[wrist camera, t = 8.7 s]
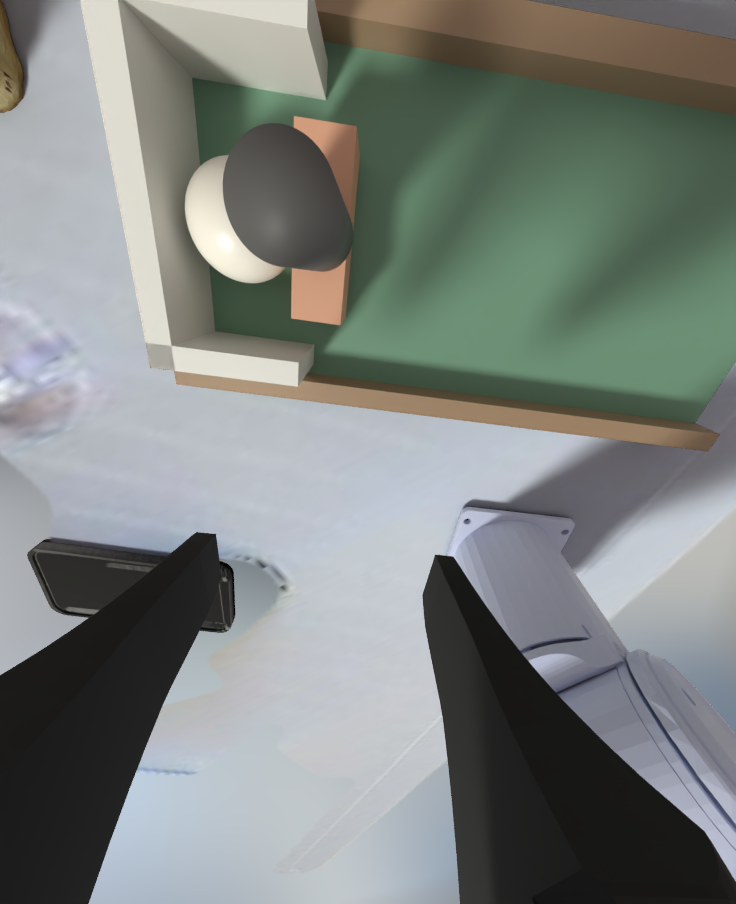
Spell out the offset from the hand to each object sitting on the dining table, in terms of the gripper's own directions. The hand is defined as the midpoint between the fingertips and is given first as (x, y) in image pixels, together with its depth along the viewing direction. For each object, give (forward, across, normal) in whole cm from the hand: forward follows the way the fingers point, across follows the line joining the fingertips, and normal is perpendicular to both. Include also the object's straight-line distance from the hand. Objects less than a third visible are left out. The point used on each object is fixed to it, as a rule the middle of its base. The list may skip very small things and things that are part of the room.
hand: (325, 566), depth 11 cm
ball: (+8, +5, -10) cm, 13 cm away
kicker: (+10, +2, -10) cm, 14 cm away
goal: (+10, +4, -10) cm, 14 cm away
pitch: (+10, -6, -10) cm, 15 cm away
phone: (+11, +16, +16) cm, 25 cm away
